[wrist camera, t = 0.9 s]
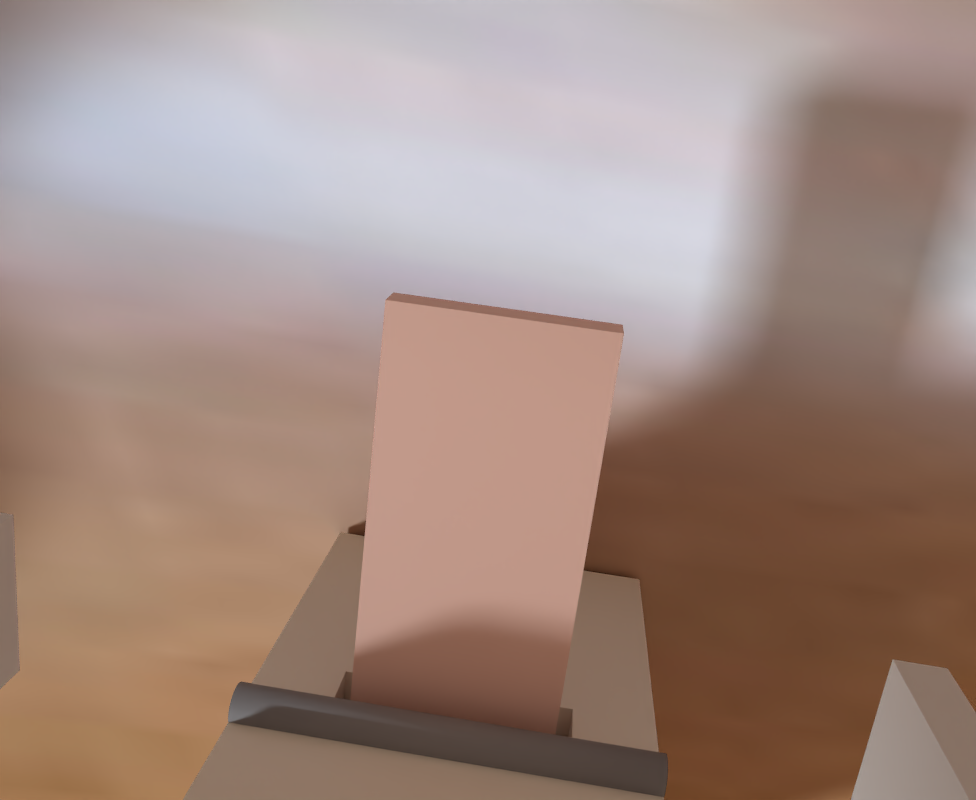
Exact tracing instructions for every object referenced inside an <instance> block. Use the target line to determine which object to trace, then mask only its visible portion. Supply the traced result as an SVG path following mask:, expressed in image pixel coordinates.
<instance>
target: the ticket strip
mask: <svg viewBox="0 0 976 800" xmlns="http://www.w3.org/2000/svg"><path fill="white" fill-rule="evenodd" d="M623 336H624V331H623V325H620V324H613V323H606V322H599V321H592V320H585V319H578V318H570V317H563V316H556V315H549V314H542V313H535V312H528V311H521V310H514V309H507V308H500V307H492V306H485V305H478V304H471V303H464V302H457V301H450V300H443V299H436V298H429V297H421V296H414V295H407V294H400V293H392V294H391V295H390V296H389V297H388V298H387V299H386V301H385V312H384V323H383V335H382V346H381V357H380V369H379V380H378V391H377V403H376V414H375V425H374V437H373V448H372V459H371V471H370V482H369V493H368V505H367V516H366V527H365V538H364V550H363V561H362V572H361V584H360V595H359V606H358V618H357V629H356V640H355V652H354V663H353V674H352V686H351V697H350V700H353V701H359V702H365V703H371V704H376V705H382V706H388V707H394V708H400V709H406V710H412V711H418V712H424V713H430V714H436V715H442V716H448V717H453V718H459V719H465V720H471V721H477V722H483V723H489V724H495V725H501V726H507V727H513V728H519V729H525V730H530V731H536V732H542V733H548V734H554V735H555V734H556V728H557V722H558V716H559V710H560V705H561V699H562V693H563V687H564V681H565V675H566V669H567V664H568V658H569V652H570V646H571V640H572V634H573V628H574V623H575V617H576V611H577V605H578V599H579V593H580V588H581V582H582V576H583V570H584V564H585V558H586V552H587V547H588V541H589V535H590V529H591V523H592V517H593V511H594V506H595V500H596V494H597V488H598V482H599V476H600V471H601V465H602V459H603V453H604V447H605V441H606V435H607V430H608V424H609V418H610V412H611V406H612V400H613V394H614V389H615V383H616V377H617V371H618V365H619V359H620V354H621V348H622V342H623Z"/></svg>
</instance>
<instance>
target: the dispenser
mask: <svg viewBox="0 0 976 800" xmlns="http://www.w3.org/2000/svg"><path fill="white" fill-rule="evenodd" d="M364 538H365V536H361V535H355V534H349V533H342V532H341V533H340V534H339V536H338V538H337V539H336V541H335V543H334V544H333V546H332V548H331V549H330V551H329V553H328V555H327V556H326V558H325V560H324V561H323V563H322V565H321V566H320V568H319V570H318V572H317V573H316V575H315V577H314V578H313V580H312V582H311V583H310V585H309V587H308V589H307V590H306V592H305V594H304V595H303V597H302V599H301V600H300V602H299V604H298V605H297V607H296V609H295V611H294V612H293V614H292V616H291V617H290V619H289V621H288V622H287V624H286V626H285V628H284V629H283V631H282V633H281V634H280V636H279V638H278V639H277V641H276V643H275V644H274V646H273V648H272V650H271V651H270V653H269V655H268V656H267V658H266V660H265V661H264V663H263V665H262V667H261V668H260V670H259V672H258V673H257V675H256V677H255V678H254V680H253V682H252V683H246V682H240V683H239V684H238V685H237V687H236V688H235V691H234V693H233V696H232V699H231V703H230V708H229V715H228V724H227V726H226V728H225V729H224V731H223V733H222V734H221V736H220V738H219V739H218V741H217V743H216V745H215V746H214V748H213V750H212V751H211V753H210V755H209V756H208V758H207V760H206V761H205V763H204V765H203V767H202V768H201V770H200V772H199V773H198V775H197V777H196V778H195V780H194V782H193V784H192V785H191V787H190V789H189V790H188V792H187V794H186V795H185V797H184V799H183V800H664V795H665V791H666V786H667V777H668V758H667V754H666V753H661V752H659V749H658V740H657V731H656V723H655V714H654V705H653V696H652V687H651V678H650V669H649V661H648V652H647V643H646V634H645V625H644V616H643V607H642V599H641V590H640V581H639V579H634V578H628V577H621V576H615V575H609V574H602V573H596V572H590V571H583V576H582V582H581V588H580V593H579V599H578V605H577V611H576V617H575V623H574V628H573V634H572V640H571V646H570V652H569V658H568V664H567V669H566V675H565V681H564V687H563V693H562V699H561V705H560V710H559V716H558V722H557V728H556V734H555V735H554V734H548V733H542V732H536V731H530V730H525V729H519V728H513V727H507V726H501V725H495V724H489V723H483V722H477V721H471V720H465V719H459V718H453V717H448V716H442V715H436V714H430V713H424V712H418V711H412V710H406V709H400V708H394V707H388V706H382V705H376V704H371V703H365V702H359V701H353V700H350V697H351V686H352V674H353V663H354V652H355V640H356V629H357V618H358V606H359V595H360V584H361V572H362V561H363V550H364Z"/></svg>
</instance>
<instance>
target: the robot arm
mask: <svg viewBox="0 0 976 800" xmlns="http://www.w3.org/2000/svg"><path fill="white" fill-rule="evenodd" d="M19 670H20V665H19V641H18V616H17V592H16V567H15V543H14V518H13V515H11V514H5V513H0V689H1V688H2V687H3V686H4V685H5V684H6V683H7V682H8V681H9V680H10V679H11V678H12V677H13V676H14V675H15V674H16V673H17V672H18V671H19ZM851 800H976V712H975V710H974V709H973V707H972V706H971V704H970V703H969V701H968V700H967V698H966V696H965V695H964V693H963V692H962V690H961V689H960V687H959V685H958V684H957V682H956V681H955V679H954V678H953V676H952V674H951V673H950V671H949V670H948V668H942V667H936V666H930V665H924V664H918V663H912V662H906V661H900V660H894V659H893V660H892V663H891V667H890V670H889V673H888V677H887V680H886V683H885V687H884V690H883V693H882V697H881V700H880V703H879V707H878V710H877V714H876V717H875V720H874V724H873V727H872V730H871V734H870V737H869V740H868V744H867V747H866V751H865V754H864V757H863V761H862V764H861V767H860V771H859V774H858V777H857V781H856V784H855V788H854V791H853V794H852V798H851Z"/></svg>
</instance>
